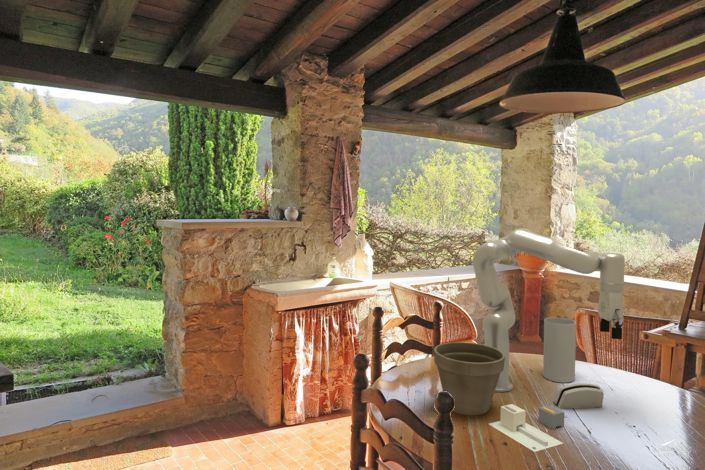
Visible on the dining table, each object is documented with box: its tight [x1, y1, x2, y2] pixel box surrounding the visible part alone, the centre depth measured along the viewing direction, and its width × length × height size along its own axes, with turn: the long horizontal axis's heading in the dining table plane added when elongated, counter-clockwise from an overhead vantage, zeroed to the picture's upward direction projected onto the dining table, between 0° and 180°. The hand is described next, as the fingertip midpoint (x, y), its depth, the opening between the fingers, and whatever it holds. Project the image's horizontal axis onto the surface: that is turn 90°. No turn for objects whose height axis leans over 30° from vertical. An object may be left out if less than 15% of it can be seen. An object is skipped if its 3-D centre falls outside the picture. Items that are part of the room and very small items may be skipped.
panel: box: [488, 420, 564, 453], centre depth 149 cm, size 20×12×2 cm, turn 25°
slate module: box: [538, 405, 565, 430], centre depth 155 cm, size 6×5×6 cm
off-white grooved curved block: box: [552, 382, 605, 409], centre depth 172 cm, size 17×5×10 cm, turn 95°
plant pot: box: [433, 341, 505, 416], centre depth 169 cm, size 25×25×22 cm
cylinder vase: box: [542, 317, 577, 384], centre depth 201 cm, size 12×12×25 cm
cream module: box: [499, 403, 527, 432], centre depth 154 cm, size 6×5×6 cm
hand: (610, 335), depth 168 cm, fingers open, 9 cm apart
